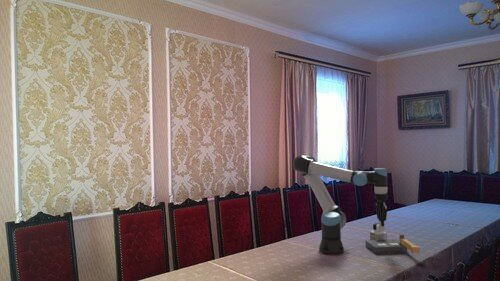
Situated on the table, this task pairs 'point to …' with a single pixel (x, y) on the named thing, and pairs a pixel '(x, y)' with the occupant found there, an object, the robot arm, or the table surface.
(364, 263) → the table surface
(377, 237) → the container
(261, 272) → the table surface
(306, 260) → the table surface
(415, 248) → the bar
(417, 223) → the table surface
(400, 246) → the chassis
